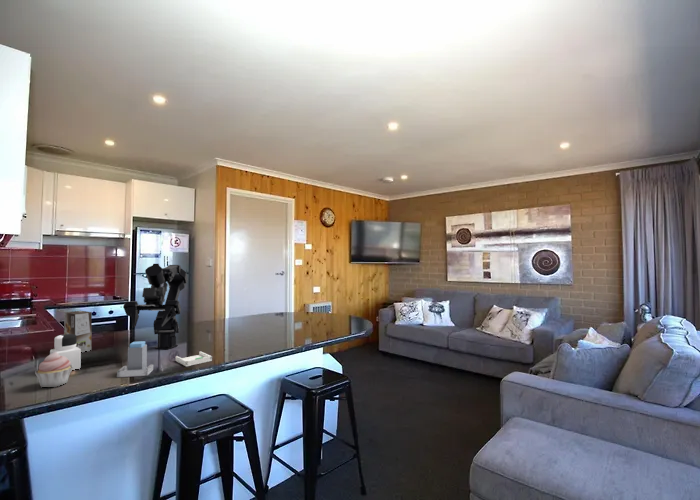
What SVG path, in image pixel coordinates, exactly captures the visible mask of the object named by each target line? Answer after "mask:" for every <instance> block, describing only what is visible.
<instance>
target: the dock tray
mask: <svg viewBox="0 0 700 500" xmlns="http://www.w3.org/2000/svg"><path fill="white" fill-rule="evenodd" d="M198 353H199V354H196V355H191V356H188V357H187V356H186V357H181V356H178V355H176V356H175V362H177V363H178V364H180V365H183V366H184V367H190V366H193V365H195V366H196V365H198V364H203V363H208V362H212V361H213V355H210V354H208V353H206V352H203V351H198Z"/></svg>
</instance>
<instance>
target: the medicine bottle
mask: <svg viewBox="0 0 700 500" xmlns="http://www.w3.org/2000/svg"><path fill="white" fill-rule="evenodd" d="M53 342H54V348H53V349H52V348H51V349H50V351H49V355H50V354H52V353H54V352H57V353H58V354H59V356H65V357H66V358H67V359H68V360H69V361H70V362H71V364H70V365H73V366H72V367H73V369H72V370H74V371H76V370H75V369H79V370H81V369H82V368H81V367H82V366H81V363H82V361H81V359H82V353H81V349H80V348H78V347H76V345H77V336H76V335H74V334H64V333H63V334H60V335H57V336H55V337H54V341H53ZM80 368H81V369H80Z"/></svg>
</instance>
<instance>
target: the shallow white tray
mask: <svg viewBox="0 0 700 500" xmlns="http://www.w3.org/2000/svg"><path fill="white" fill-rule="evenodd" d="M153 371H154V363H151V364H149V365H148V366H147V368H146V369H135V370H128V365H123V366H122V367H121V368H119V369H118V370H117V371H116V378H129V377H132V378H133V377H147V376H149V375H150V374H151V373H152V372H153Z"/></svg>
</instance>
